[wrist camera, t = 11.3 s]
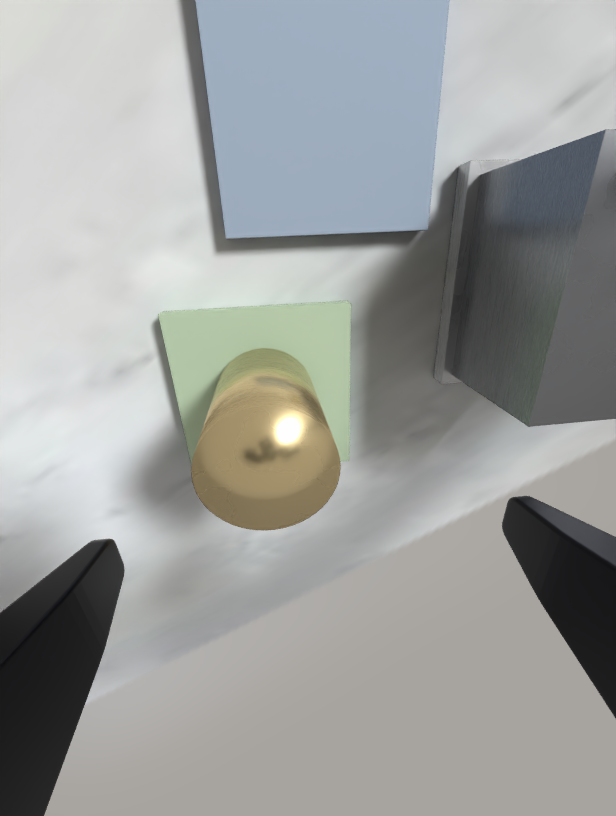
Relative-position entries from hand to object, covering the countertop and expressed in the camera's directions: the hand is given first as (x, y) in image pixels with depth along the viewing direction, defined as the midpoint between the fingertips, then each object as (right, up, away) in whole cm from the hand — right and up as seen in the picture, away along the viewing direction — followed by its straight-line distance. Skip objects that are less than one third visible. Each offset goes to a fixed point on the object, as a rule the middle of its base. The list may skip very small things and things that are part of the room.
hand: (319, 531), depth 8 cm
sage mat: (-3, +4, +11) cm, 12 cm away
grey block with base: (+9, +9, +10) cm, 16 cm away
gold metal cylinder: (-3, +3, +10) cm, 11 cm away
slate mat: (0, +15, +6) cm, 16 cm away
